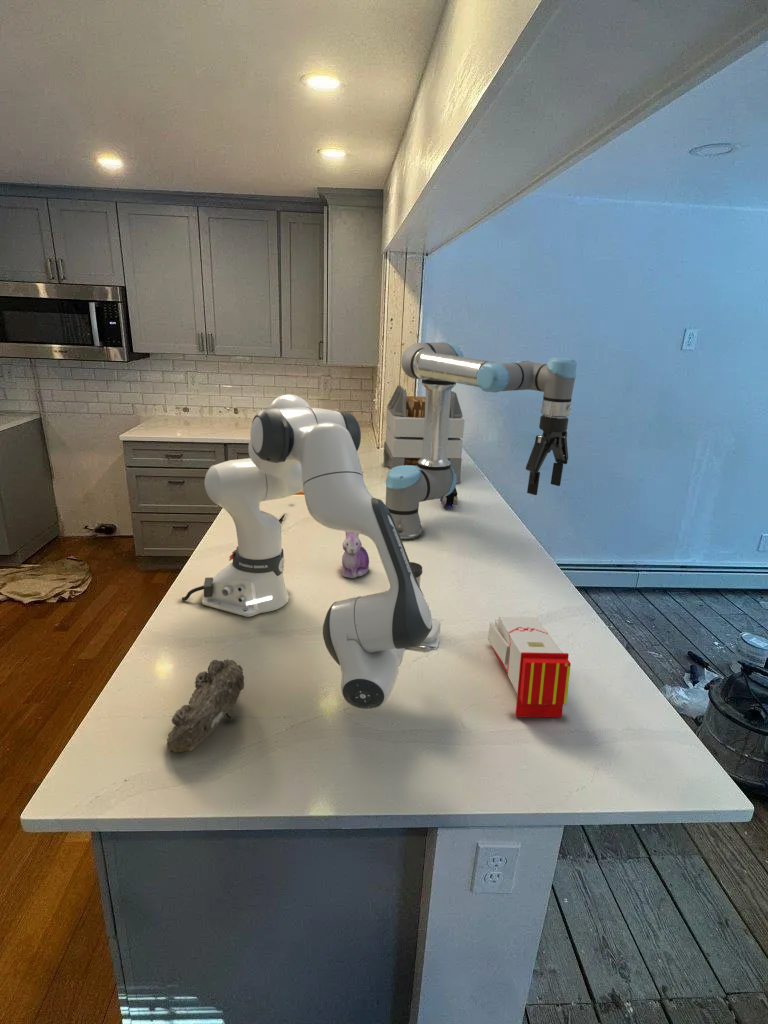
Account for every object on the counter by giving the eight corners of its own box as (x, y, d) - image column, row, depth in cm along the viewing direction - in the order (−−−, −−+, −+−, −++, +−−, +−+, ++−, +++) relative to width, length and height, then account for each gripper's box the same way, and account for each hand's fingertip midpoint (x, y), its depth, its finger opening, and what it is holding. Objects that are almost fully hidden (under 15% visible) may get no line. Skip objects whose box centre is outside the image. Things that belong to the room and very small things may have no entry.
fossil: (192, 660, 117) (244, 628, 112) (224, 691, 120) (276, 661, 115) (142, 746, 98) (202, 712, 93) (182, 779, 101) (242, 748, 96)
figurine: (347, 581, 163) (348, 533, 158) (333, 567, 172) (334, 521, 166) (376, 576, 167) (378, 528, 162) (361, 562, 176) (363, 517, 171)
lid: (395, 575, 138) (396, 569, 138) (401, 566, 143) (402, 560, 143) (419, 579, 137) (419, 573, 136) (424, 569, 142) (424, 564, 141)
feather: (292, 507, 224) (294, 503, 223) (275, 531, 197) (278, 527, 197) (288, 505, 224) (291, 501, 223) (271, 528, 197) (273, 524, 197)
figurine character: (457, 514, 225) (453, 498, 239) (459, 497, 222) (455, 481, 236) (441, 513, 225) (437, 497, 239) (442, 496, 222) (439, 481, 235)
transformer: (382, 463, 289) (386, 382, 275) (445, 464, 293) (451, 384, 279) (390, 482, 257) (394, 392, 243) (460, 483, 261) (468, 394, 247)
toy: (534, 602, 136) (579, 659, 107) (529, 653, 139) (572, 723, 110) (484, 601, 136) (516, 658, 107) (480, 652, 139) (510, 722, 109)
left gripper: (438, 637, 104) (445, 602, 117) (331, 622, 108) (349, 590, 121) (436, 666, 106) (443, 629, 119) (331, 651, 110) (349, 616, 123)
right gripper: (544, 423, 145) (533, 501, 153) (587, 413, 163) (575, 484, 170) (519, 418, 150) (509, 494, 157) (563, 409, 167) (552, 478, 175)
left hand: (395, 609), depth 120 cm, fingers open, 8 cm apart
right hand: (543, 489), depth 164 cm, fingers open, 13 cm apart
